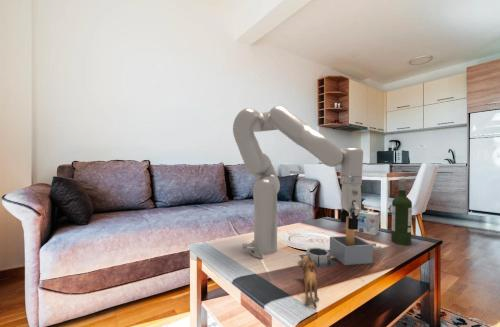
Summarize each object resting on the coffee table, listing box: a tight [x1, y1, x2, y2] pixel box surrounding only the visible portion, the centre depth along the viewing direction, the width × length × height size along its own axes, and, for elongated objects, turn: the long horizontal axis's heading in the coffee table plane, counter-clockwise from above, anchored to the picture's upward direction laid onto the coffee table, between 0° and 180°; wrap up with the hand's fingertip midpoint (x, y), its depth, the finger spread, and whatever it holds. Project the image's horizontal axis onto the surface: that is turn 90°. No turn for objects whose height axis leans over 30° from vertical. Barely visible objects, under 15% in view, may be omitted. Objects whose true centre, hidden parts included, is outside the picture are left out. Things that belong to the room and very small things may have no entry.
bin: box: [329, 235, 374, 266], centre depth 93 cm, size 11×11×8 cm
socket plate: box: [298, 247, 340, 268], centre depth 91 cm, size 11×11×4 cm
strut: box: [345, 216, 356, 246], centre depth 93 cm, size 5×5×16 cm
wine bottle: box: [390, 177, 413, 246], centre depth 115 cm, size 8×8×30 cm
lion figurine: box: [297, 256, 320, 309], centre depth 71 cm, size 15×5×9 cm, turn 179°
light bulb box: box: [355, 209, 380, 236], centre depth 131 cm, size 11×7×11 cm, turn 50°
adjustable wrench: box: [367, 241, 382, 251], centre depth 111 cm, size 25×6×2 cm, turn 76°
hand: (348, 225), depth 93 cm, fingers open, 9 cm apart
